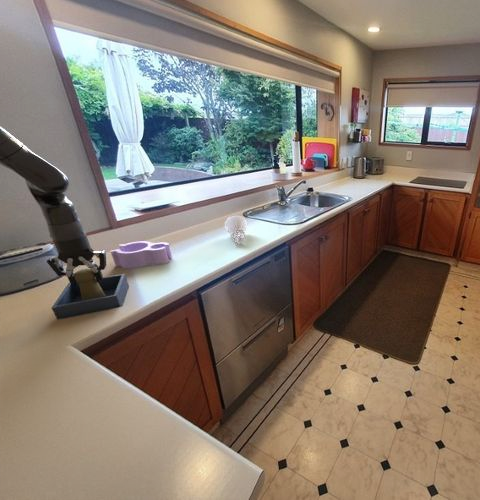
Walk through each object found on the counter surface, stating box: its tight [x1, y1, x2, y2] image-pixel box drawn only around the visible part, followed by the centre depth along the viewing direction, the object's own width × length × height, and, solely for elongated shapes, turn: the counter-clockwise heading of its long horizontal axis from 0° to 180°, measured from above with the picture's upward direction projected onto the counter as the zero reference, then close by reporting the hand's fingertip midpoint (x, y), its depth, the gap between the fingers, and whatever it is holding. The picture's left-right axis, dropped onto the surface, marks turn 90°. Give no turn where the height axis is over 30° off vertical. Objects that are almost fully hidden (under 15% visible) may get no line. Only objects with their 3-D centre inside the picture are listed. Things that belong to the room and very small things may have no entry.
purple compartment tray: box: [110, 240, 173, 269], centre depth 122 cm, size 20×12×7 cm, turn 101°
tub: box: [51, 273, 130, 321], centre depth 94 cm, size 16×16×6 cm
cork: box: [74, 268, 106, 301], centre depth 92 cm, size 6×6×11 cm
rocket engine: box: [224, 214, 248, 247], centre depth 146 cm, size 12×12×18 cm
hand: (88, 282), depth 92 cm, fingers closed on cork, 5 cm apart
